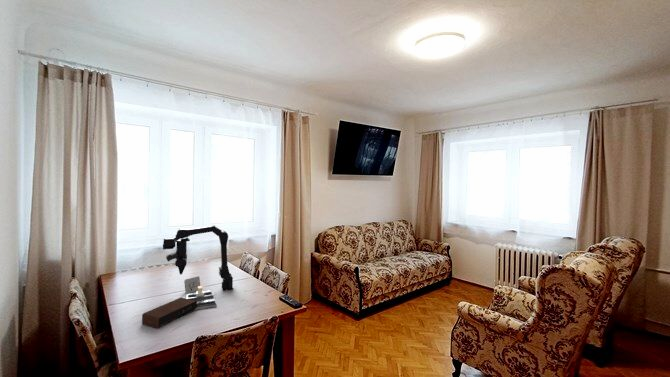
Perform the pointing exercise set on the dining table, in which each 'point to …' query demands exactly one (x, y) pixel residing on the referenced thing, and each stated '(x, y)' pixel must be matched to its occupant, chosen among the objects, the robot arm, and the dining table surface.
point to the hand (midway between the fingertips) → (181, 272)
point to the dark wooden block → (168, 312)
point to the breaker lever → (199, 291)
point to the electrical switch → (192, 284)
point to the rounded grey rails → (206, 306)
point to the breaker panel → (202, 298)
